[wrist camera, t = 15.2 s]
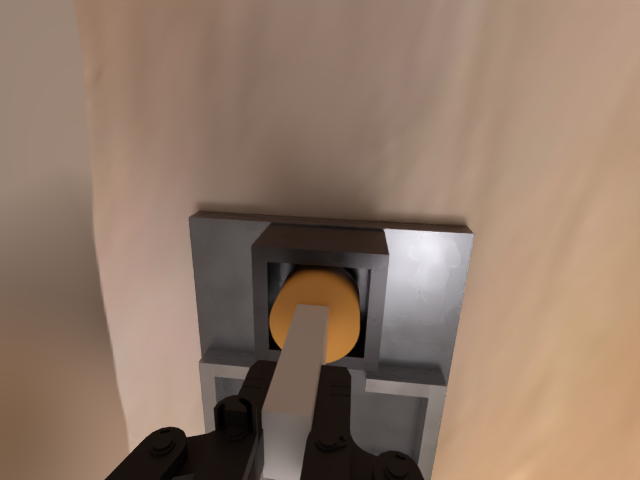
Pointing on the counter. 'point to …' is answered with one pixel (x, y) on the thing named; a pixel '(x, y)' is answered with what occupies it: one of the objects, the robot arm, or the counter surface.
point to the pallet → (375, 314)
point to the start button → (321, 290)
